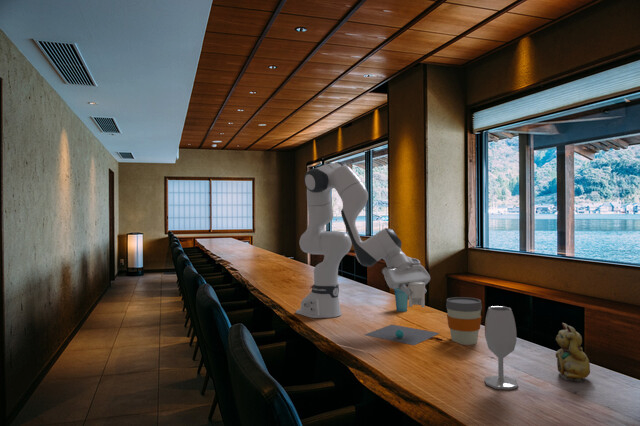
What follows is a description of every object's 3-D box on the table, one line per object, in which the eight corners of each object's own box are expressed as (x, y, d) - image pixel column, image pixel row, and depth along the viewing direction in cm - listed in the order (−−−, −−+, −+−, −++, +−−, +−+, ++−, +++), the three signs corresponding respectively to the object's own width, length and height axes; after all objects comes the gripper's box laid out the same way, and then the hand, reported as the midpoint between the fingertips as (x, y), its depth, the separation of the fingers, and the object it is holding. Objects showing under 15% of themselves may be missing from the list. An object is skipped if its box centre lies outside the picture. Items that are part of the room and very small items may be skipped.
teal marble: (394, 337, 171) (393, 329, 170) (398, 336, 173) (398, 328, 173) (401, 339, 169) (400, 331, 169) (405, 337, 171) (405, 329, 171)
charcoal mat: (363, 336, 175) (363, 334, 175) (391, 325, 191) (391, 324, 190) (414, 346, 161) (414, 345, 161) (440, 334, 176) (440, 333, 176)
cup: (416, 313, 212) (415, 281, 212) (400, 314, 210) (400, 282, 210) (404, 307, 226) (403, 277, 226) (389, 308, 224) (389, 277, 224)
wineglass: (478, 379, 129) (477, 305, 129) (508, 377, 130) (507, 304, 130) (493, 391, 120) (491, 312, 120) (524, 389, 121) (523, 311, 121)
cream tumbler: (406, 306, 176) (405, 283, 176) (413, 303, 181) (413, 281, 181) (419, 308, 172) (419, 284, 172) (427, 305, 177) (427, 282, 177)
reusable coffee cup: (444, 344, 163) (444, 302, 163) (448, 335, 175) (447, 296, 175) (481, 347, 158) (481, 304, 158) (483, 338, 170) (482, 298, 170)
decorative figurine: (551, 371, 135) (550, 320, 135) (581, 371, 134) (580, 320, 134) (565, 383, 125) (565, 329, 125) (597, 384, 124) (596, 329, 124)
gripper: (383, 262, 177) (401, 291, 169) (421, 259, 188) (440, 286, 179) (376, 273, 181) (393, 301, 172) (414, 269, 192) (432, 295, 183)
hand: (417, 293), depth 176 cm, fingers closed on cream tumbler, 6 cm apart
